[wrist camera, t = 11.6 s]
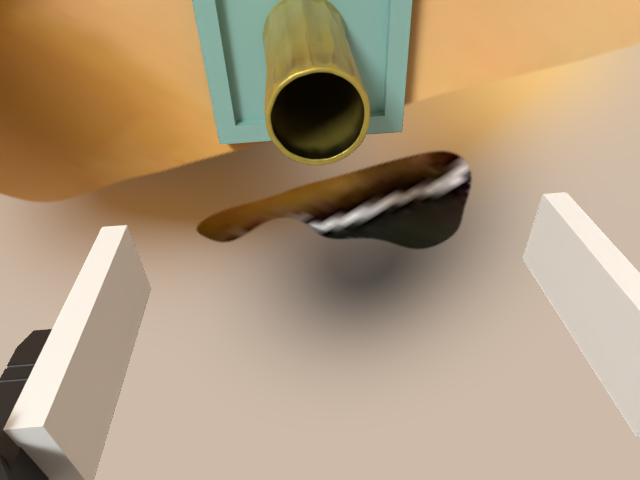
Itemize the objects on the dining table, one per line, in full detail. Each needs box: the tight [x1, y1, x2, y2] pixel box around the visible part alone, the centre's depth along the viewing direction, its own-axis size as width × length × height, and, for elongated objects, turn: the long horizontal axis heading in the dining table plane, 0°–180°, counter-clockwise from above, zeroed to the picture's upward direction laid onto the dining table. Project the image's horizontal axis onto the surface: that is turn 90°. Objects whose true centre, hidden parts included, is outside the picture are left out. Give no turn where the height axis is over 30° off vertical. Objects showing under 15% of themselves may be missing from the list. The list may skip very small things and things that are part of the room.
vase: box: [263, 0, 370, 165], centre depth 28 cm, size 6×6×14 cm
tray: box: [192, 0, 412, 144], centre depth 34 cm, size 15×15×2 cm
